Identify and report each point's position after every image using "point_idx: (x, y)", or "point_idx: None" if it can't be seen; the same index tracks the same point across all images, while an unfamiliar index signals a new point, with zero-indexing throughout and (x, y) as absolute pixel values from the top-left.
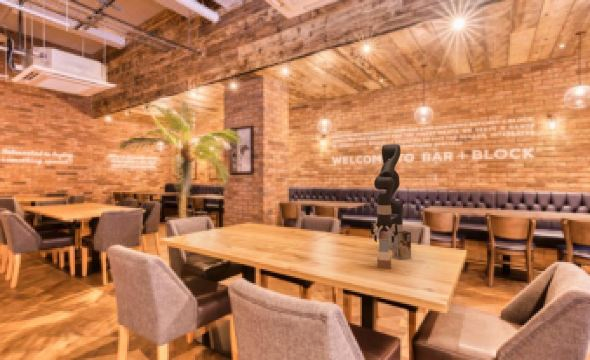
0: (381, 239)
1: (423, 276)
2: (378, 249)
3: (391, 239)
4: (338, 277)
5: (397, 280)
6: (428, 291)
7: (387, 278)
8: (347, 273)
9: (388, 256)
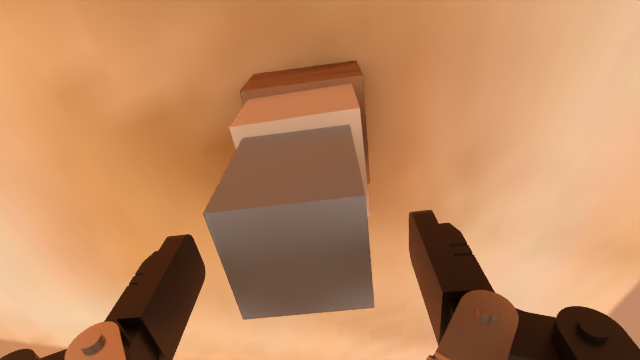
0: (252, 243)
1: (546, 216)
2: (237, 143)
3: (420, 251)
4: None
5: (395, 303)
6: None
7: None
8: None
9: None
